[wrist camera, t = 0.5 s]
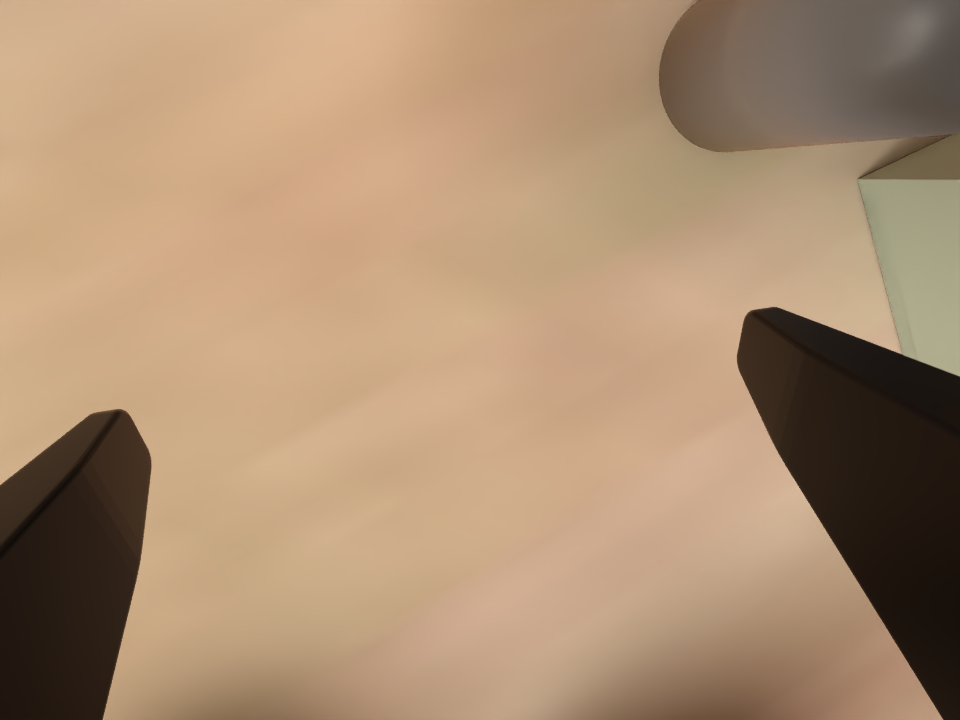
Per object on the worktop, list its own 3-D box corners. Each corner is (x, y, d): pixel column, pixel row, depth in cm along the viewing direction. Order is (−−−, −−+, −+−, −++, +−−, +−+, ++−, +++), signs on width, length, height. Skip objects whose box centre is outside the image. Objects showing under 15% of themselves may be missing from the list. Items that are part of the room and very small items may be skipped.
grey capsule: (819, 114, 22) (1190, 57, 12) (687, 176, 22) (941, 175, 12) (779, -38, 21) (1161, -255, 10) (638, 29, 21) (877, -120, 10)
